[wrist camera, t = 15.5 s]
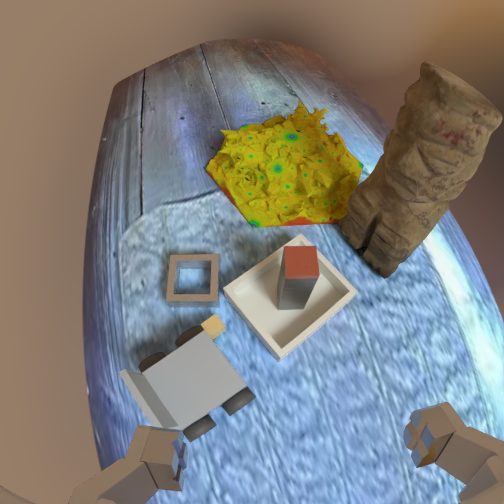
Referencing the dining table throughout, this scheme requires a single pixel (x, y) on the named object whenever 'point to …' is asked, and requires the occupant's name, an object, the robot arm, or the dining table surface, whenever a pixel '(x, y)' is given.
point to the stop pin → (297, 276)
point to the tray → (286, 321)
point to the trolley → (187, 385)
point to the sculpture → (419, 167)
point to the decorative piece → (286, 171)
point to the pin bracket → (193, 263)
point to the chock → (213, 326)
